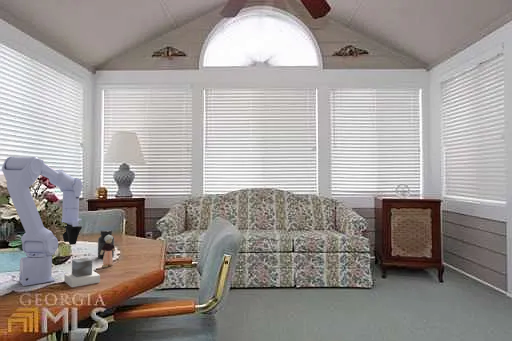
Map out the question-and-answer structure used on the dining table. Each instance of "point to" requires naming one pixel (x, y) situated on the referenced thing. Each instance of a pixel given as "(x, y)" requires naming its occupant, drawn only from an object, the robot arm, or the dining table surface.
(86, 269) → the slate block
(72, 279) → the cream base block
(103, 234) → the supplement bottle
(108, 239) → the grandmother figurine
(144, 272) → the dining table surface
